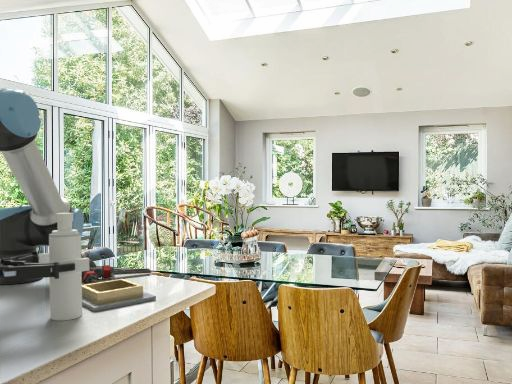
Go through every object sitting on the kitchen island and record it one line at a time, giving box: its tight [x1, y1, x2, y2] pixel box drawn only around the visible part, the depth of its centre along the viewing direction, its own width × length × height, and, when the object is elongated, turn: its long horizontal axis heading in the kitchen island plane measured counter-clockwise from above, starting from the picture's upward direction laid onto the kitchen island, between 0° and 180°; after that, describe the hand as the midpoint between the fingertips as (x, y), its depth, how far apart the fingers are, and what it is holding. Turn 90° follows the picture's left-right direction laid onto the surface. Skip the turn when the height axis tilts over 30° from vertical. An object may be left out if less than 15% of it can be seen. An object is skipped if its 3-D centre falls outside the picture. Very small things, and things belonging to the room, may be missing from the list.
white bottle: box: [48, 213, 83, 322], centre depth 103 cm, size 7×7×25 cm
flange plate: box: [82, 278, 157, 313], centre depth 119 cm, size 18×16×4 cm
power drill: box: [82, 259, 152, 284], centre depth 143 cm, size 6×26×15 cm
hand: (77, 260), depth 105 cm, fingers open, 13 cm apart
